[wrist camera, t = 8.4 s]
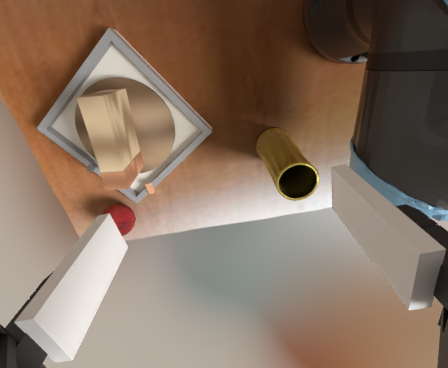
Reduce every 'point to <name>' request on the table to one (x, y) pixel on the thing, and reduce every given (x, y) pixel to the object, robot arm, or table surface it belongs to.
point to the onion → (121, 217)
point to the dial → (124, 129)
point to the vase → (287, 165)
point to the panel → (137, 70)
